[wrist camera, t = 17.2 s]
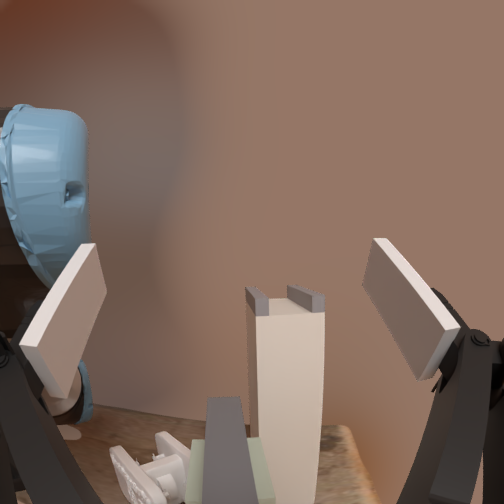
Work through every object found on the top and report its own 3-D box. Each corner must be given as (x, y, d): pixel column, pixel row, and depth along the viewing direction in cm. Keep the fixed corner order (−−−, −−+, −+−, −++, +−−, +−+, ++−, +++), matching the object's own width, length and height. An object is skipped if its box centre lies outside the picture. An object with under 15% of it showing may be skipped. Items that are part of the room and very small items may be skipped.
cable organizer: (225, 521, 34) (219, 468, 34) (165, 549, 26) (148, 497, 26) (171, 477, 44) (162, 426, 45) (119, 494, 37) (103, 442, 37)
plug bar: (207, 561, 12) (200, 533, 12) (209, 424, 32) (207, 397, 32) (264, 559, 12) (264, 530, 12) (241, 423, 32) (239, 396, 32)
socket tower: (260, 516, 35) (255, 298, 35) (251, 467, 49) (245, 287, 49) (313, 509, 36) (324, 295, 36) (294, 462, 49) (296, 284, 50)
